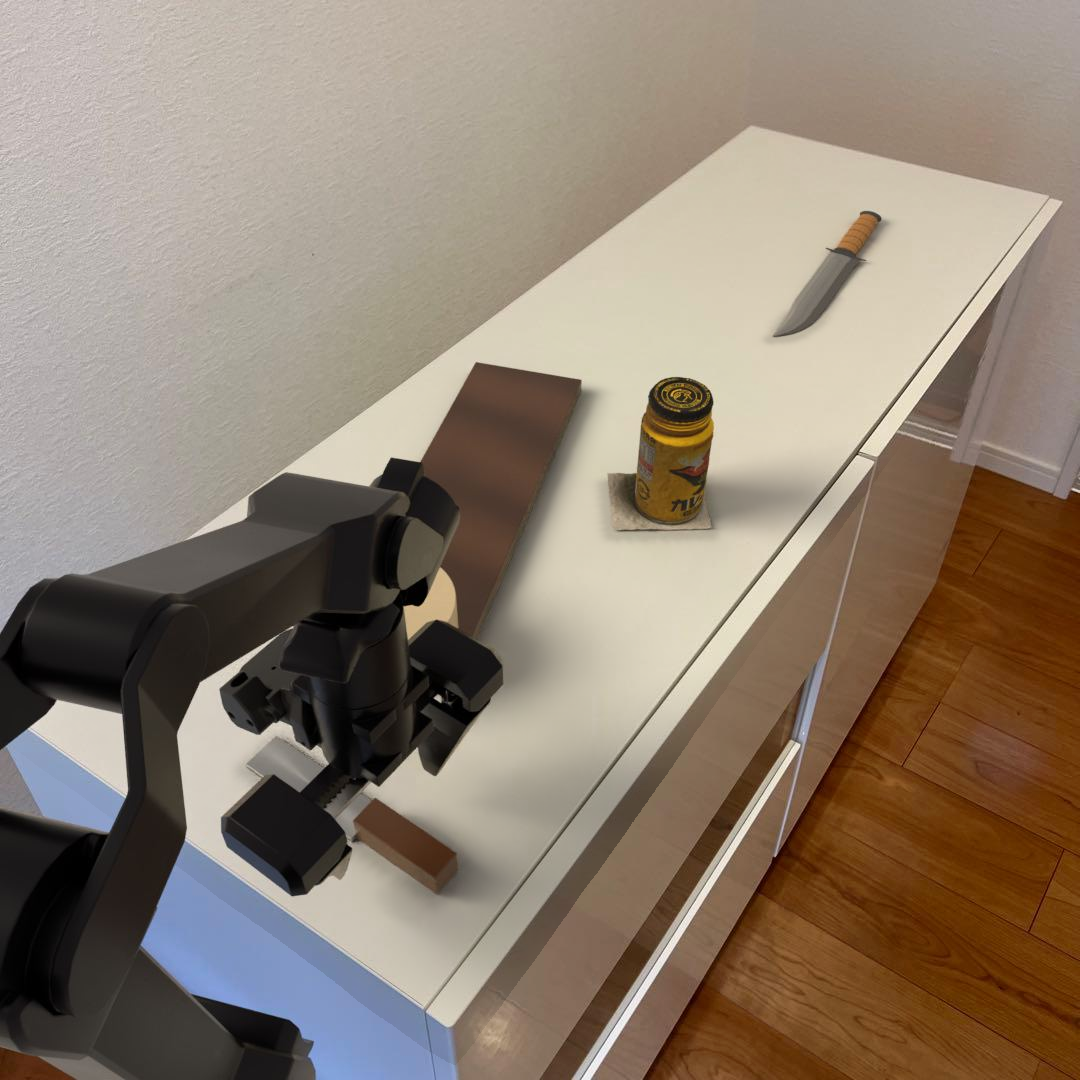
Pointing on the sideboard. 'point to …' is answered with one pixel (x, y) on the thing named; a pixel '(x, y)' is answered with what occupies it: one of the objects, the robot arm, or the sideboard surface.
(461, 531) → the serving board
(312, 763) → the cake knife
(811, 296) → the knife
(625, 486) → the condiment
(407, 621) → the cake
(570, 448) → the sideboard surface
